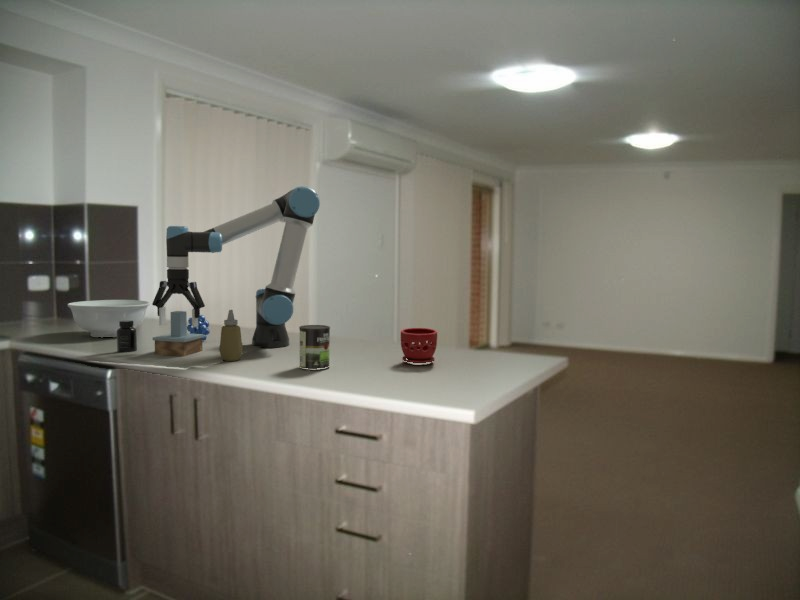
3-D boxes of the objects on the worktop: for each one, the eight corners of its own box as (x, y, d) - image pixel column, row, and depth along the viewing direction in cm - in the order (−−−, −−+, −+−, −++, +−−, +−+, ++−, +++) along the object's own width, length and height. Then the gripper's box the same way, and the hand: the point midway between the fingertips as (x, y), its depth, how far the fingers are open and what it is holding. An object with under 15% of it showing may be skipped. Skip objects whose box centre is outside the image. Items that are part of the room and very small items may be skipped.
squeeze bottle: (221, 362, 215) (221, 311, 214) (217, 358, 222) (216, 309, 221) (245, 361, 219) (244, 310, 217) (239, 357, 226) (239, 308, 224)
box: (202, 352, 233) (202, 337, 233) (184, 358, 222) (183, 341, 221) (174, 350, 236) (174, 335, 236) (154, 356, 225) (154, 340, 224)
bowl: (124, 328, 293) (124, 297, 292) (165, 335, 275) (164, 302, 273) (54, 335, 267) (53, 302, 266) (93, 344, 249) (92, 307, 247)
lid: (204, 336, 233) (203, 310, 232) (184, 342, 221) (183, 314, 220) (173, 335, 236) (173, 309, 235) (152, 340, 224) (152, 312, 223)
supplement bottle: (141, 352, 233) (140, 320, 231) (126, 355, 226) (125, 322, 225) (128, 350, 235) (127, 319, 234) (112, 353, 229) (112, 321, 228)
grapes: (195, 345, 250) (194, 315, 249) (183, 343, 254) (183, 314, 252) (216, 341, 260) (216, 312, 259) (205, 339, 264) (204, 311, 263)
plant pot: (394, 361, 224) (394, 328, 223) (426, 359, 229) (427, 327, 228) (409, 368, 212) (409, 333, 211) (443, 365, 217) (443, 332, 216)
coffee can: (335, 367, 212) (336, 326, 210) (316, 372, 203) (316, 329, 201) (312, 363, 217) (312, 323, 216) (292, 368, 208) (292, 326, 207)
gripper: (213, 268, 227) (214, 326, 229) (154, 267, 233) (155, 322, 235) (202, 269, 219) (203, 328, 221) (141, 267, 225) (142, 325, 227)
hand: (178, 325), depth 228 cm, fingers open, 13 cm apart
